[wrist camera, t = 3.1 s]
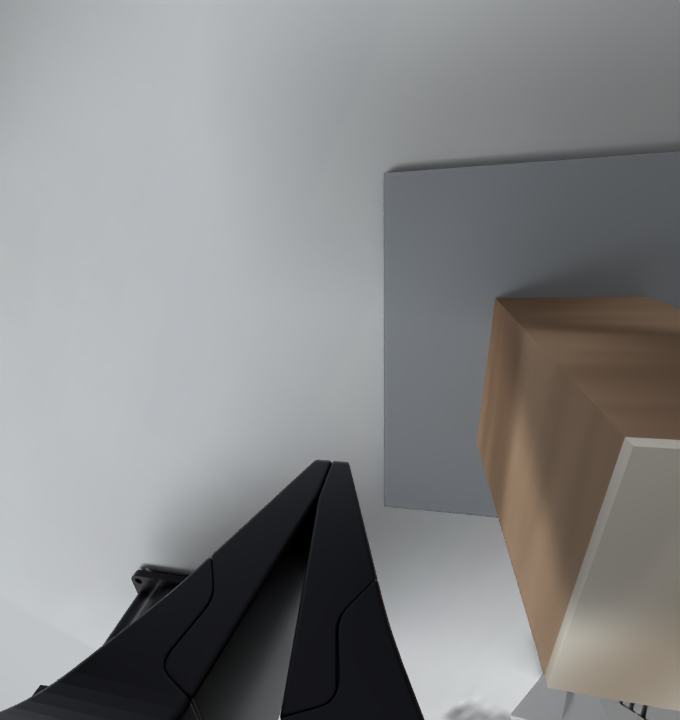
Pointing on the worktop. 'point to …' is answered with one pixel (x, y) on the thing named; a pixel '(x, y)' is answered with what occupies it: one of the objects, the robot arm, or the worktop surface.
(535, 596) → the wooden block
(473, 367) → the rubber mat
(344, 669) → the robot arm
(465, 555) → the worktop surface
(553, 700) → the die
